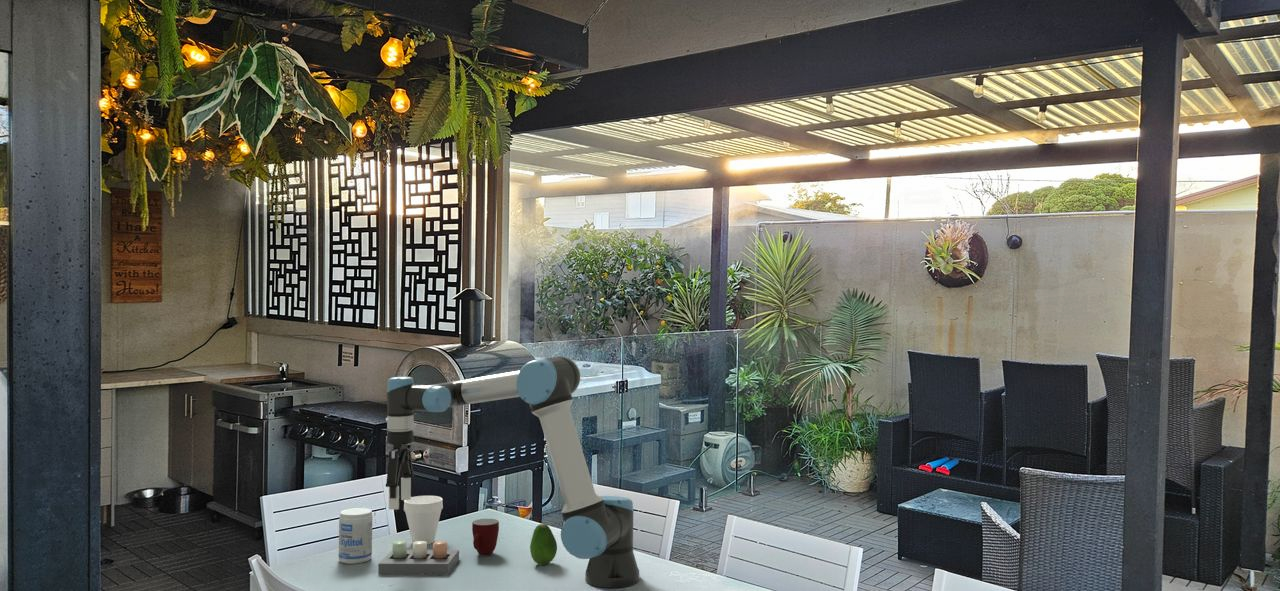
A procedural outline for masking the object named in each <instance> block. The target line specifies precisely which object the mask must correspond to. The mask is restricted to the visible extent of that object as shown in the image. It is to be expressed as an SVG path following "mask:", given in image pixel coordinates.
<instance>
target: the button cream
mask: <svg viewBox="0 0 1280 591" xmlns="http://www.w3.org/2000/svg"><path fill="white" fill-rule="evenodd" d="M427 545H428V544H427V542H426V541H416V542H414V543H413V542H412V550H413V558H417V559H419V558H425V557H427V550H428V546H427Z"/></svg>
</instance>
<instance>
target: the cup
mask: <svg viewBox="0 0 1280 591" xmlns="http://www.w3.org/2000/svg"><path fill="white" fill-rule="evenodd" d="M403 502H404V503H403V512H405V515H406V521H407V525H408V528H409V532H410V537H411V542H412V544H413V543H414V542H416V541H426V542H427V545H430V544H433V543H434V542H435V540H436V534H437V532H438V528H439V527H438V526H439V521H440V519H441V518H440V517H441V514H442V513H441V512H442V510H443V508H444V506H443V503H444V502H443V498H442V497H441V496H438V495H417V496H411V500H403Z"/></svg>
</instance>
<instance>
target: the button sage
mask: <svg viewBox="0 0 1280 591" xmlns="http://www.w3.org/2000/svg"><path fill="white" fill-rule="evenodd" d="M407 547H408V544H407V541H406V540H397V541H393V542H392V550H393V558H404V557H406V556H407V550H408V548H407Z"/></svg>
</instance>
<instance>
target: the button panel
mask: <svg viewBox="0 0 1280 591" xmlns="http://www.w3.org/2000/svg"><path fill="white" fill-rule="evenodd" d="M459 561H460V549H447V557H446V558H441V559H436V558H433V549H427V557H425V558H419V559H417V558H413V549H407V556H406V557H404V558H393V549H392V550H391V551H390V552H389V553H388V554H386V555H385V557H384V558H382V559H381V560H380V561H379V562H378V564H377V565H378V566H377V568H378V571H377V572H378V575H449V574H450V572H451V571H452V569H453V570H454V567H455V566H456V564H458V562H459Z"/></svg>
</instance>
